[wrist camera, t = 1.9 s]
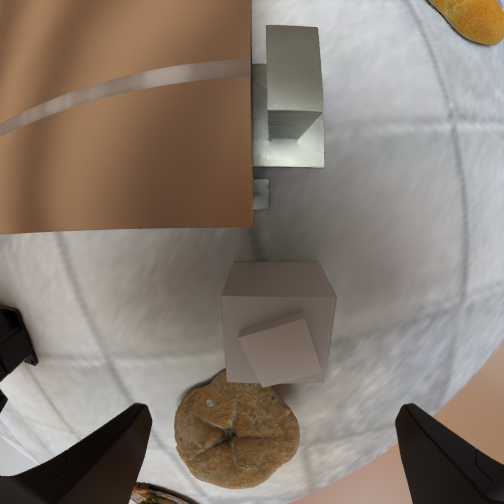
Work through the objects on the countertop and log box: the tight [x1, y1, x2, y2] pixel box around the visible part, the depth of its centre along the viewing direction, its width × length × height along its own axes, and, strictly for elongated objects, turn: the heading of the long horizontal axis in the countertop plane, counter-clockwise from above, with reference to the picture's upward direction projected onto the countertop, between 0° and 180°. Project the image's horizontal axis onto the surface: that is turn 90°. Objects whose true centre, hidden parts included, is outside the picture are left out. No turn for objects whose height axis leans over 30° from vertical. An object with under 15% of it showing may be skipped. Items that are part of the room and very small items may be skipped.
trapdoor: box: [0, 0, 253, 235], centre depth 9 cm, size 16×16×6 cm
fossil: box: [174, 370, 300, 489], centre depth 18 cm, size 9×4×10 cm
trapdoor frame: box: [252, 25, 324, 210], centre depth 11 cm, size 23×8×8 cm, turn 91°
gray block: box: [221, 261, 337, 388], centre depth 15 cm, size 5×5×6 cm
